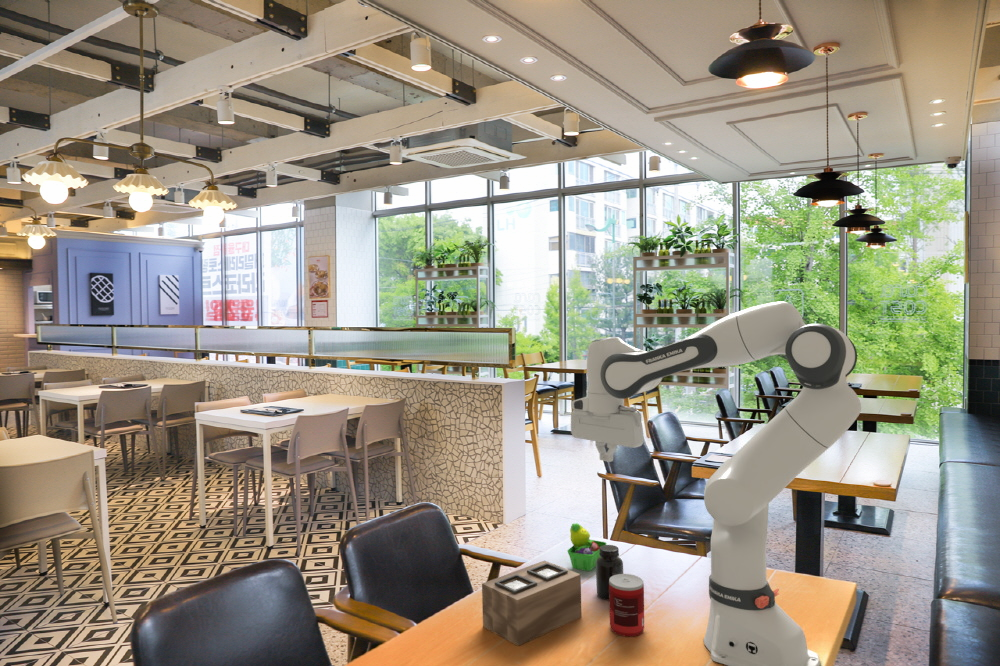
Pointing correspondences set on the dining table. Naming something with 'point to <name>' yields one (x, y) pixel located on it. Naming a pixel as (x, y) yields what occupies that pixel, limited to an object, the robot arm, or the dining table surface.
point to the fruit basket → (583, 548)
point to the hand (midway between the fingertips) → (606, 460)
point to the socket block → (531, 602)
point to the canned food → (626, 604)
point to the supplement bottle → (607, 568)
